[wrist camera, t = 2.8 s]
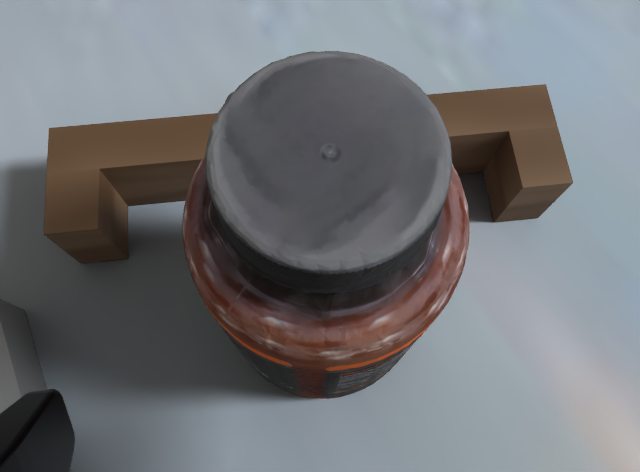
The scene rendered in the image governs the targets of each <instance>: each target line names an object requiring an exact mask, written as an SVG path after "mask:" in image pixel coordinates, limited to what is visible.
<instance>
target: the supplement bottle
mask: <svg viewBox="0 0 640 472" xmlns="http://www.w3.org/2000/svg"><path fill="white" fill-rule="evenodd" d="M182 232H183V241H184V249H185V256H186V260H187V262H188V266H189V269H190V272H191V275H192V278H193V281H194V283H195V286H196V288H197V290H198V292H199V294H200V296H201V298H202V299H203V301H204V303H205V305H206V306H207V308H208V309H209V310H210V312H211V313H212V315H213V316H214V317H215V319H216V320H217V322H218V323H219V324H220V325H221V327H222V328H223V329H224V331H225V332H226V333H227V335H228V336H229V338H230V339H231V341H232V342H233V343H234V344H235V345H236V346H237V348H238V349H239V350H240V351H241V353H242V354H243V355H244V356H245V358H246V359H247V360H248V361H249V363H250V364H251V365H252V366H253V368H254V369H255V370H256V371H257V372H258V373H259V374H260V375H261V376H263V377H264V378H265V379H267V380H268V381H269V382H271V383H273V384H274V385H276V386H277V387H279V388H282V389H284V390H286V391H289V392H291V393H293V394H297V395H301V396H305V397H311V398H327V399H329V398H337V397H342V396H345V395H349V394H352V393H355V392H357V391H360V390H362V389H364V388H366V387H368V386H370V385H372V384H373V383H375V382H376V381H377V380H379V379H380V378H381V377H383V376H384V375H385V374H386V373H387V372H389V371H390V370H391V368H392V367H393V366H394V365H395V364H396V363H397V362H398V361H399V360H400V358H401V357H402V356H403V355H404V354H405V353H406V352H407V351H408V349H410V347H411V346H412V345H413V344H414V343H415V342H416V340H417V339H418V338H419V337H420V336H421V335H422V334H423V333H424V332H425V331H426V329H427V328H428V327H429V326H430V325H431V324H432V322H433V321H434V320H435V319H436V318H437V317H438V316H439V314H440V313H441V311H442V310H443V309H444V307H445V306H446V304H447V303H448V301H449V300H450V298H451V296H452V294H453V292H454V290H455V288H456V286H457V284H458V281H459V279H460V277H461V274H462V271H463V267H464V265H465V259H466V254H467V249H468V244H469V213H468V204H467V200H466V197H465V194H464V190H463V186H462V183H461V181H460V178H459V176H458V173H457V171H456V170H455V168H454V166H453V163H452V150H451V143H450V139H449V136H448V133H447V129H446V127H445V124H444V122H443V120H442V118H441V116H440V114H439V112H438V110H437V108H436V107H435V105H434V104H433V103H432V102H431V101H430V99H429V98H428V96H427V95H426V94H425V93H424V92H423V91H422V89H421V88H420V87H419V86H418V85H417V84H415V83H414V82H413V81H412V80H410V79H409V78H408V77H407V76H406V75H404V74H403V73H401V72H399V71H397V70H396V69H395V68H393V67H391V66H389V65H387V64H385V63H383V62H380V61H376V60H375V59H372V58H369V57H366V56H363V55H360V54H354V53H347V52H339V51H324V52H307V53H302V54H298V55H294V56H289V57H287V58H285V59H282V60H279V61H276V62H272V63H270V64H269V65H267V66H266V67H264V68H262V69H260V70H259V71H258V72H256V73H254V74H253V75H252V76H251V77H249V78H248V79H247V80H246V81H245V82H243V83H242V84H241V85H240V86H239V87H238V88H237V89H236V91H235V92H233V93H231V94H230V95H229V96H228V97H227V99H226V102H225V104H224V105H223V107H222V108H221V109H220V111H219V112H218V114H217V116H216V118H215V120H214V122H213V125H212V127H211V129H210V134H209V138H208V142H207V148H206V153H205V156H204V157H203V158H202V160H201V161H200V163H199V165H198V168H197V170H196V171H195V173H194V175H193V178H192V181H191V184H190V187H189V190H188V194H187V198H186V202H185V206H184V213H183V225H182Z"/></svg>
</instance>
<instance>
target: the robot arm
mask: <svg viewBox="0 0 640 472" xmlns="http://www.w3.org/2000/svg"><path fill="white" fill-rule="evenodd" d="M74 443H75V436H74V431H73V427H72V424H71V421H70V418H69V415H68V412H67V409H66V406H65V403H64V400H63V397H62V395H61V394H60V392H59V391H57V390H55V389H50V390H40V391H32V392H28V393H26V394H25V395H23V396H22V397H21V398H20V399H18V400H17V401H16V402H14V403H13V404H12V405H11V406H9V407H8V408H7V409H5V410H4V411H3V412H1V413H0V472H69V471H70V466H71V461H72V456H73V451H74Z"/></svg>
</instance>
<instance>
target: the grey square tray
mask: <svg viewBox="0 0 640 472" xmlns="http://www.w3.org/2000/svg"><path fill="white" fill-rule="evenodd" d="M40 390H47V388H46V384H45V381H44V377H43V374H42V370H41V367H40V363H39V360H38V357H37V353H36V350H35V346H34V343H33V339H32V336H31V332H30V329H29V325H28V322H27V318H26V315H25V312H24V310H23V309H21V308H19V307H16V306H14V305H12V304H10V303H8V302H6V301H4V300H1V299H0V413H1V412H3V411H4V410H5V409H7V408H8V407H9V406H11V405H12V404H13V403H14V402H16V401H17V400H18V399H20V398H21V397H22V396H23V395H25V394H26V393H28V392H32V391H40ZM69 472H71V471H69Z"/></svg>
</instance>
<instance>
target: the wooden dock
mask: <svg viewBox="0 0 640 472" xmlns="http://www.w3.org/2000/svg"><path fill="white" fill-rule="evenodd" d="M427 96H428V98H429V99H430V101H431V102H432V103H433V104H434V105H435V107H436V108H437V110H438V112H439V114H440V116H441V118H442V120H443V122H444V124H445V127H446V129H447V133H448V136H449V139H450V143H451V150H452V163H453V166H454V168H455V170H456V171H457V173H458V174H467V173H477V172H483V173H484V178H485V182H486V187H487V191H488V196H489V200H490V205H491V209H492V214H493V218H494V222H502V221H512V220H522V219H532V218H538V217H539V216H540V215H541V214H542V213H543V212H544V211H545V210H546V209H547V208H548V207H549V206H550V205H551V204H552V203H553V202H554V201H555V200H556V199H557V198H558V197H559V196H560V195H561V194H562V193H563V192H564V191H565V190H566V189H567V188H568V187H569V186H570V185H571V184H572V183H573V180H572V177H571V173H570V170H569V166H568V163H567V159H566V155H565V152H564V148H563V145H562V141H561V137H560V134H559V130H558V127H557V123H556V120H555V116H554V112H553V109H552V105H551V102H550V98H549V94H548V91H547V87H546V84H544V85H533V86H521V87H510V88H499V89H487V90H476V91H465V92H453V93H442V94H431V95H427ZM217 114H218V113H215V114H204V115H193V116H181V117H170V118H159V119H147V120H136V121H125V122H113V123H102V124H91V125H80V126H68V127H57V128H49V139H48V159H47V179H46V199H45V219H44V235H45V236H47V237H48V238H49V239H51V240H52V241H53V242H54V243H56V244H57V245H58V246H59V247H61V248H62V249H63V250H65V251H66V252H67V253H68V254H70V255H71V256H72V257H74V258H75V259H76V260H77V261H79V262H80V263H91V262H101V261H111V260H121V259H128V206H131V205H142V204H152V203H163V202H173V201H184V200H186V198H187V194H188V190H189V187H190V184H191V181H192V178H193V175H194V173H195V171H196V170H197V168H198V165H199V163H200V161H201V160H202V158H203V157H204V156H205V153H206V148H207V142H208V138H209V134H210V129H211V127H212V125H213V122H214V120H215V118H216V116H217Z"/></svg>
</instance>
